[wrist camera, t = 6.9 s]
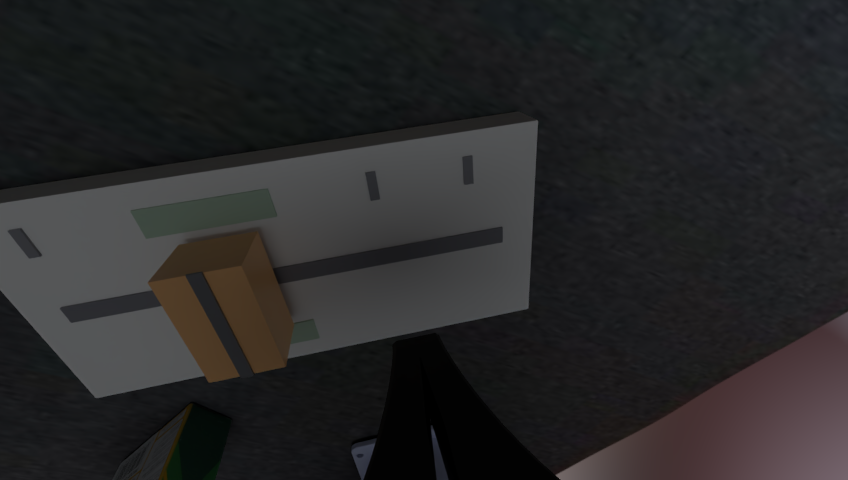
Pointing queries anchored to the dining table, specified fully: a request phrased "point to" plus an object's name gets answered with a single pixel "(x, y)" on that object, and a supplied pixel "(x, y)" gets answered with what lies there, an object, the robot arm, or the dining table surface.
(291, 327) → the fader knob
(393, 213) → the fader console
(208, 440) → the crayon box
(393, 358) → the robot arm
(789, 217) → the dining table surface
